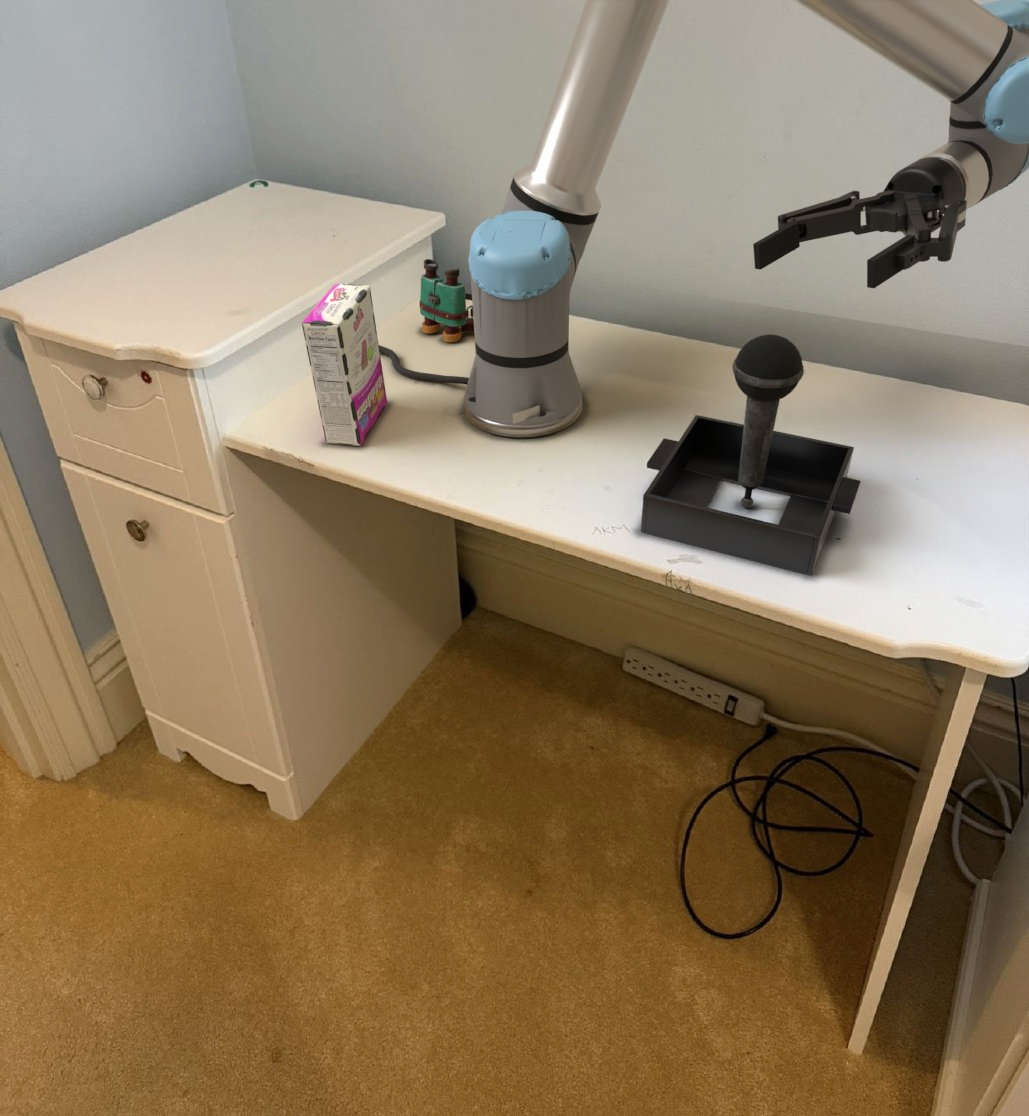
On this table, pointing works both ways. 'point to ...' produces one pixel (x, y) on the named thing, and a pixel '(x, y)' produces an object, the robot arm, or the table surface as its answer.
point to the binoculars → (444, 303)
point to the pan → (791, 470)
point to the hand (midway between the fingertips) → (810, 265)
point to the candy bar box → (345, 363)
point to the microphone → (763, 400)
